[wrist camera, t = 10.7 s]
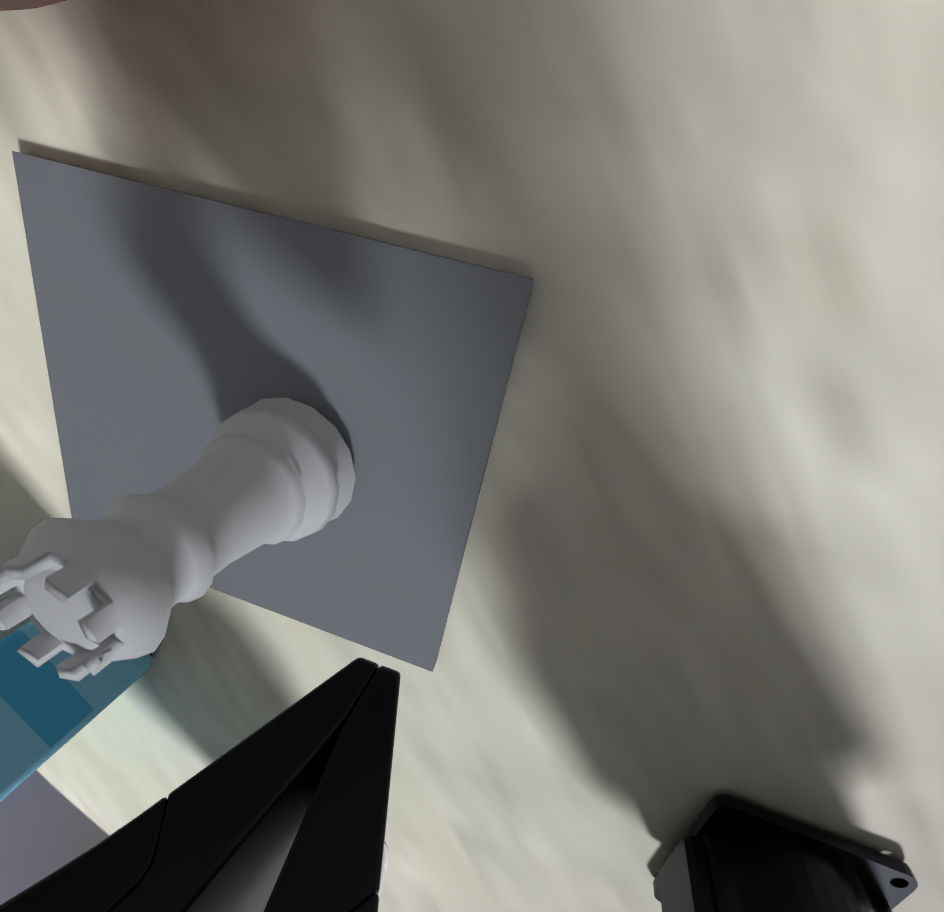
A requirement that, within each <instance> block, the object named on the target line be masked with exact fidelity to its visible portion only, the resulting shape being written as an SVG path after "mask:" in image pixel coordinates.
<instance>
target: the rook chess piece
mask: <svg viewBox="0 0 944 912" xmlns="http://www.w3.org/2000/svg"><path fill="white" fill-rule="evenodd" d="M355 478H356V477H355V472H354V467H353V463H352V458H351V453H350V450H349V448H348V446H347V444H346V443H345V441H344V439H343V438H342V436H341V435H340V433H339V431H338V430H337V428H336V427H335V426H334V425H333V424H332V423H330V422H329V421H328V420H327V419H326V418H325V417H323V416H322V415H321V414H320V413H319V412H317V411H316V410H315V409H314V408H313V407H311V406H308V405H305V404H303V403H300V402H297V401H294V400H292V399H289V398H268V399H261V400H259V401H257V402H256V403H254V404H253V405H251V406H249V407H248V408H246V409H242V410H241V411H239V412H237V413H236V414H234V415H232V416H231V417H229V418H227V419H226V420H224V421H223V422H222V423H221V424H220V425H219V426H218V427H217V429H216V431H215V433H214V434H213V436H212V438H211V440H210V442H209V443H208V444H207V445H206V447H205V448H204V450H203V452H202V454H201V456H200V458H199V460H198V461H197V462H196V463H195V464H194V465H193V466H191V467H190V468H188V469H187V470H186V471H184V472H183V473H181V474H180V475H178V476H177V477H176V478H174V479H173V480H171V481H170V482H169V483H167V484H166V485H164V486H163V487H161V488H159V489H157V490H155V491H153V492H151V493H149V494H126V495H124V496H122V497H121V498H119V499H117V500H116V501H114V502H113V503H112V505H111V507H110V509H109V512H108V514H107V516H106V517H105V518H103V519H100V520H97V521H93V520H83V519H71V518H47V519H45V520H44V521H42V522H41V523H39V524H37V525H36V526H34V527H32V528H31V529H30V531H29V533H28V535H27V537H26V539H25V541H24V543H23V545H22V547H21V549H20V551H19V553H18V555H17V557H15V558H13V559H11V560H9V561H7V562H5V563H3V564H1V565H0V594H2V593H4V592H6V591H8V590H9V589H11V588H14V594H12V595H11V596H9V597H7V598H5V599H3V600H2V601H0V631H2V630H8V629H10V628H12V627H13V626H15V625H17V624H18V623H20V622H21V621H23V620H25V619H26V618H29V619H30V620H31V621H32V623H33V624H34V625H35V626H36V627H37V628H38V630H39V631H40V632H41V634H39V635H38V636H36V637H34V638H33V639H31V640H30V641H28V642H27V643H25V644H24V645H22V646H21V647H20V648H19V649H18V650H17V652H18V653H19V654H21V655H22V656H23V657H25V658H26V659H27V660H28V661H30V662H31V663H32V664H34V665H35V666H36V667H37V668H38V667H40V666H41V665H42V664H44V663H45V662H47V661H48V660H49V659H51V658H52V657H54V656H55V655H56V654H58V653H59V652H61V651H62V650H64V651H66V652H68V653H70V654H72V655H71V656H69V657H68V658H67V659H65V660H64V661H63V662H61V663H60V664H59V665H57V666H56V669H57V672H58V675H59V678H62V679H68V680H75V681H80V680H81V679H83V678H84V677H85V676H86V675H88V674H89V673H91V674H92V675H93V676H95V675H96V674H97V673H98V672H100V671H101V670H102V669H103V668H104V667H106V666H107V665H108V664H109V663H111V662H112V661H118V660H126V659H134V658H138V657H141V656H144V655H147V654H149V653H152V652H155V650H156V649H157V647H158V646H159V644H160V643H161V641H162V640H163V638H164V637H165V634H166V630H167V626H168V622H169V617H170V613H171V609H172V607H173V606H174V605H175V604H177V603H178V602H190V601H193V600H195V599H198V598H200V597H203V596H204V595H205V593H206V592H207V590H208V589H209V587H210V586H211V584H212V583H213V577H214V576H215V575H216V574H217V573H218V572H220V571H221V570H222V569H223V568H225V567H226V566H227V565H228V564H230V563H232V562H233V561H235V560H237V559H239V558H240V557H242V556H244V555H245V554H247V553H249V552H251V551H252V550H254V549H256V548H257V547H259V546H261V545H263V544H277V543H280V542H282V541H296V540H298V539H301V538H303V537H305V536H308V535H310V534H312V533H315V532H317V531H320V530H322V529H323V528H324V526H325V525H326V524H327V523H328V522H329V521H331V520H333V519H336V518H338V517H339V515H340V514H341V513H342V512H343V510H344V509H345V508H346V507H347V505H348V504H349V503H350V501H351V498H352V493H353V488H354V483H355Z"/></svg>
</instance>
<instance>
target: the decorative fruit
mask: <svg viewBox="0 0 944 912" xmlns="http://www.w3.org/2000/svg"><path fill="white" fill-rule="evenodd" d="M62 1H66V0H0V11H3V10H21V9H30V8H38V7H42V6H46V5H50V4H54V3H58V2H62Z"/></svg>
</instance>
